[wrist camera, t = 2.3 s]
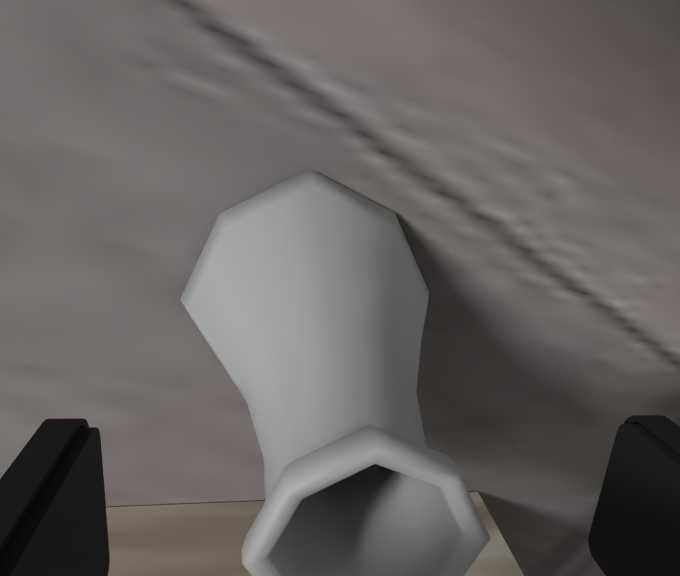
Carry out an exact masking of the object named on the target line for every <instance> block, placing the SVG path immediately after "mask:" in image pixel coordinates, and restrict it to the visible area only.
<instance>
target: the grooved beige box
mask: <svg viewBox="0 0 680 576" xmlns="http://www.w3.org/2000/svg"><path fill="white" fill-rule="evenodd" d="M469 494H470V496H471V498H472V500H473V502H474V504H475V506H476V508H477V510H478V512H479V514H480V516H481V518H482V521H483V523H484V525H485V527H486V529H487V531H488V534H489V536H490V538H491V539H490V540H489V542H488V543H487V544H486V546H485V547H484V548H483V550H482V551H481V553H480V554H479V555H478V557H477V558H476V560H475V561H474V562H473V564H472V565H471V566H470V568H469V569H468V571H467V572H466V573H465V575H464V576H524V574H523V573H522V571H521V569H520V567H519V565H518V564H517V562H516V560H515V558H514V556H513V555H512V553H511V551H510V549H509V547H508V546H507V544H506V542H505V540H504V538H503V536H502V535H501V533H500V531H499V529H498V527H497V526H496V524H495V522H494V520H493V518H492V517H491V515H490V513H489V511H488V509H487V508H486V506H485V504H484V502H483V500H482V498H481V497H480V495H479V493H478V492H469ZM264 503H265V501H246V502H222V503H198V504H174V505H150V506H126V507H106V516H107V529H108V541H109V554H110V563H109V571H108V576H251V574H250V573H249V572H248V570H247V569H246V568H245V567H244V565H243V564H242V547H243V544H244V541H245V538H246V535H247V533H248V531H249V530H250V528H251V526H252V524H253V523H254V521H255V519H256V517H257V516H258V514H259V512H260V510H261V509H262V507H263V505H264Z"/></svg>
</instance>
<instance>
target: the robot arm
mask: <svg viewBox="0 0 680 576" xmlns="http://www.w3.org/2000/svg"><path fill="white" fill-rule="evenodd" d="M588 543H589V549H590V552H591V555H592V557H593V558H594V560H595V561H596V563H597V564H598V565H599V567H600V568H601V570H602V571H603V572H604V574H605V575H606V576H680V427H679V426H678V425H676V424H675V423H674V422H672V421H671V420H670V419H668V418H666V417H664V416H631V417H629V418H628V419H627V420H626V421H625V423H624V424H622V425H621V426H620V427H619V428H618V430H617V434H616V437H615V441H614V445H613V448H612V452H611V456H610V459H609V463H608V467H607V471H606V474H605V478H604V482H603V485H602V489H601V493H600V496H599V500H598V504H597V507H596V511H595V515H594V519H593V522H592V526H591V530H590V533H589V538H588ZM109 563H110V554H109V541H108V529H107V516H106V503H105V491H104V478H103V465H102V453H101V440H100V432H99V429H98V428H89V426H88V423H87V420H85V419H46V420H45V421H44V422H43V423H42V424H41V426H40V427H39V428H38V430H37V431H36V432H35V434H34V435H33V436H32V438H31V439H30V440H29V442H28V443H27V444H26V446H25V447H24V448H23V450H22V451H21V452H20V454H19V455H18V456H17V458H16V459H15V460H14V462H13V463H12V464H11V466H10V467H9V468H8V470H7V471H6V472H5V474H4V475H3V476H2V478H1V479H0V576H108V571H109Z"/></svg>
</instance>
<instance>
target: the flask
mask: <svg viewBox="0 0 680 576" xmlns="http://www.w3.org/2000/svg"><path fill="white" fill-rule="evenodd" d="M428 299H429V291H428V288H427V286H426V284H425V281H424V279H423V277H422V274H421V272H420V270H419V268H418V265H417V263H416V261H415V258H414V256H413V254H412V251H411V249H410V247H409V245H408V242H407V240H406V238H405V235H404V233H403V231H402V228H401V226H400V224H399V221H398V219H397V217H396V215H395V213H394V212H392V211H390V210H388V209H386V208H385V207H383V206H381V205H379V204H377V203H375V202H373V201H371V200H369V199H367V198H365V197H363V196H361V195H359V194H357V193H356V192H354V191H352V190H350V189H348V188H346V187H344V186H342V185H340V184H338V183H336V182H334V181H332V180H330V179H328V178H326V177H325V176H323V175H321V174H319V173H317V172H315V171H313V170H311V169H307V170H305V171H303V172H301V173H299V174H297V175H295V176H293V177H291V178H289V179H288V180H286V181H284V182H282V183H280V184H278V185H276V186H274V187H272V188H270V189H268V190H266V191H264V192H262V193H260V194H258V195H256V196H254V197H252V198H250V199H248V200H246V201H244V202H242V203H240V204H238V205H236V206H234V207H232V208H230V209H228V210H226V211H224V212H222V213H220V214H219V216H218V218H217V220H216V222H215V224H214V226H213V229H212V231H211V233H210V235H209V237H208V240H207V242H206V244H205V246H204V248H203V250H202V253H201V255H200V257H199V259H198V261H197V264H196V266H195V268H194V270H193V272H192V274H191V277H190V279H189V281H188V283H187V285H186V288H185V290H184V292H183V294H182V296H181V298H180V300H181V301H182V303H183V305H184V306H185V308H186V309H187V311H188V313H189V314H190V316H191V317H192V319H193V320H194V322H195V323H196V325H197V326H198V328H199V330H200V331H201V333H202V334H203V336H204V337H205V339H206V340H207V342H208V343H209V345H210V346H211V348H212V349H213V351H214V353H215V354H216V356H217V357H218V359H219V360H220V362H221V363H222V365H223V366H224V368H225V369H226V371H227V372H228V374H229V376H230V377H231V379H232V380H233V382H234V383H235V384H236V386H237V387H238V389H239V390H240V392H241V394H242V395H243V397H244V398H245V400H246V402H247V405H248V408H249V411H250V415H251V418H252V421H253V425H254V428H255V431H256V435H257V438H258V441H259V445H260V448H261V451H262V455H263V458H264V479H265V503H264V505H263V507H262V509H261V510H260V512H259V514H258V516H257V517H256V519H255V521H254V523H253V524H252V526H251V528H250V530H249V531H248V533H247V535H246V538H245V541H244V544H243V547H242V564H243V565H244V567H245V568H246V569H247V570H248V572H249V573H250V574H251V576H464V575H465V573H466V572H467V571H468V569H469V568H470V566H471V565H472V564H473V562H474V561H475V560H476V558H477V557H478V555H479V554H480V553H481V551H482V550H483V548H484V547H485V546H486V544H487V543H488V542H489V540H490V539H491V538H490V536H489V534H488V531H487V529H486V527H485V525H484V523H483V521H482V518H481V516H480V514H479V512H478V510H477V508H476V506H475V504H474V502H473V500H472V498H471V496H470V494H469V492H468V490H467V487H466V485H465V483H464V481H463V479H462V477H461V475H460V473H459V471H458V469H457V467H456V465H455V463H454V462H453V461H452V460H451V459H450V458H449V457H448V456H447V455H446V454H444V453H441V452H439V451H436V450H433V449H431V448H428V447H427V446H426V441H425V436H424V430H423V425H422V420H421V415H420V409H419V404H418V399H417V393H416V391H417V380H418V370H419V359H420V349H421V339H422V333H423V327H424V322H425V317H426V311H427V306H428Z"/></svg>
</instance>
